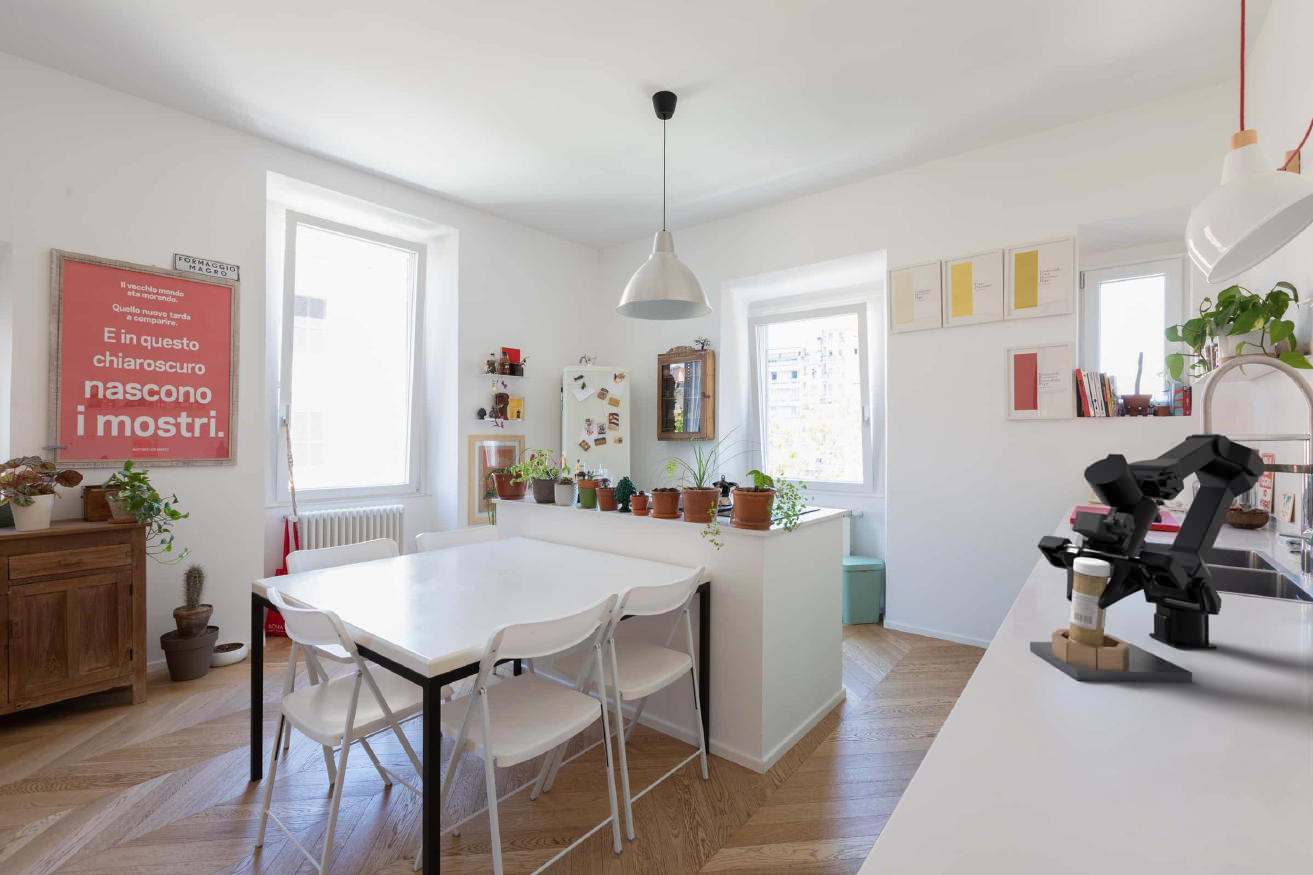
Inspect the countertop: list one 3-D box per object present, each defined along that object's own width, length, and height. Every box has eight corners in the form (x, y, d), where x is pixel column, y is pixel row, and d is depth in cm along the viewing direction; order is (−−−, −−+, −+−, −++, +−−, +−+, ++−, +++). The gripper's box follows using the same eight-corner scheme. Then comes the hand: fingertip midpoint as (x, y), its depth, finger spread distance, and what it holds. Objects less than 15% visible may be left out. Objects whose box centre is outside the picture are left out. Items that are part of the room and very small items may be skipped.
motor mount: (1130, 652, 97) (1130, 625, 97) (1192, 682, 85) (1192, 651, 85) (1030, 650, 98) (1029, 623, 98) (1076, 680, 86) (1076, 649, 86)
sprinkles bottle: (1110, 649, 90) (1118, 563, 89) (1088, 652, 88) (1096, 565, 87) (1081, 637, 94) (1088, 555, 93) (1060, 640, 93) (1066, 557, 92)
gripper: (1043, 488, 101) (1001, 559, 96) (1175, 498, 84) (1132, 584, 79) (1072, 530, 104) (1033, 600, 99) (1205, 547, 87) (1165, 633, 82)
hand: (1084, 603), depth 90 cm, fingers closed on sprinkles bottle, 4 cm apart
